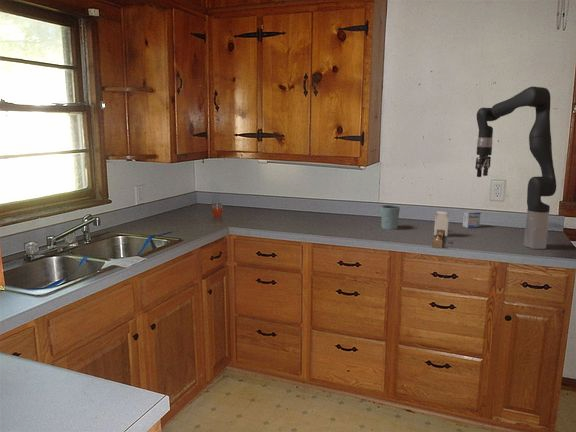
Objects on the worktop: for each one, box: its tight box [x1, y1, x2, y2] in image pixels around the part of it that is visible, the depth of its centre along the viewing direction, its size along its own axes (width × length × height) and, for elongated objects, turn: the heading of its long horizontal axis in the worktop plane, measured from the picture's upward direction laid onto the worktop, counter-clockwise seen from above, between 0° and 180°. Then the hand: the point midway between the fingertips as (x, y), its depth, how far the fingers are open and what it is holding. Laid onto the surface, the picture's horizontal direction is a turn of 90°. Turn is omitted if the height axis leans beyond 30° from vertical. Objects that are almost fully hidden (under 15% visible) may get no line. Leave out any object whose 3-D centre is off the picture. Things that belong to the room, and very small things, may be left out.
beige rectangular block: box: [433, 211, 450, 237], centre depth 258 cm, size 5×6×12 cm
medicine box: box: [462, 210, 482, 229], centre depth 278 cm, size 8×4×9 cm, turn 105°
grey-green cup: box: [380, 204, 401, 231], centre depth 274 cm, size 10×10×12 cm
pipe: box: [431, 229, 454, 249], centre depth 251 cm, size 38×9×3 cm, turn 160°
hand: (482, 176), depth 271 cm, fingers open, 8 cm apart
